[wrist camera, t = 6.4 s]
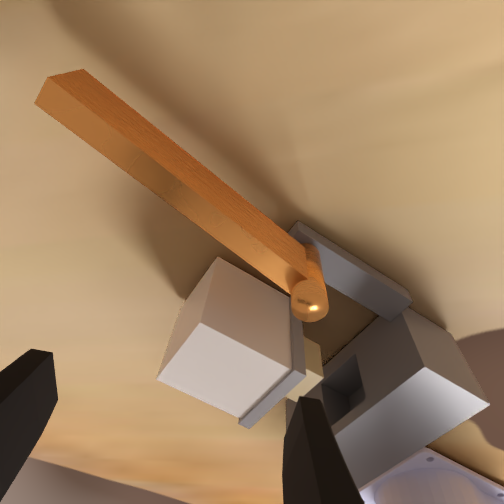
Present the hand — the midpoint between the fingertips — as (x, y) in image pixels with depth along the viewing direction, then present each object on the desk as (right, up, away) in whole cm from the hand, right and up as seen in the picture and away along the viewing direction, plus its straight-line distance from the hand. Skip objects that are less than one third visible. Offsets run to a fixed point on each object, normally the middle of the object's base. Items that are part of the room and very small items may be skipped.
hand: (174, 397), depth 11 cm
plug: (+2, +1, +10) cm, 10 cm away
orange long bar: (+1, +7, +5) cm, 9 cm away
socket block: (+6, -1, +11) cm, 12 cm away
